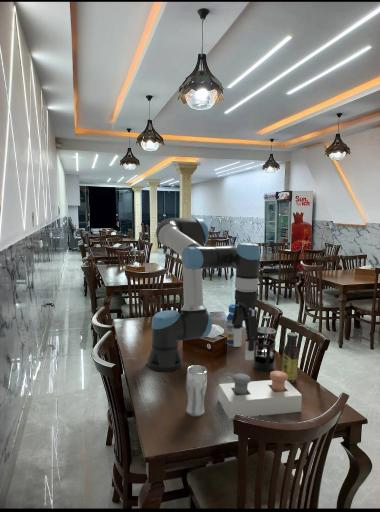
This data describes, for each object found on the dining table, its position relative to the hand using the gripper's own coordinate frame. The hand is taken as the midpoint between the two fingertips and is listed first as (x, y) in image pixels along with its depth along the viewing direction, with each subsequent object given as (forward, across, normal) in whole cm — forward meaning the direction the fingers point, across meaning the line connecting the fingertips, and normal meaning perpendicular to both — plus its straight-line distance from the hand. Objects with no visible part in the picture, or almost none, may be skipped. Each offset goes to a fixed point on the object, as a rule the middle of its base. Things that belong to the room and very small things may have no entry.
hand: (243, 352), depth 122 cm
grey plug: (+15, 0, 0) cm, 15 cm away
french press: (+20, +30, -22) cm, 42 cm away
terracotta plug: (+15, 0, -14) cm, 21 cm away
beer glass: (+20, 0, +16) cm, 26 cm away
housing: (+20, 0, -7) cm, 21 cm away
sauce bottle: (+20, +16, -27) cm, 37 cm away
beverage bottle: (+20, +58, -18) cm, 64 cm away
